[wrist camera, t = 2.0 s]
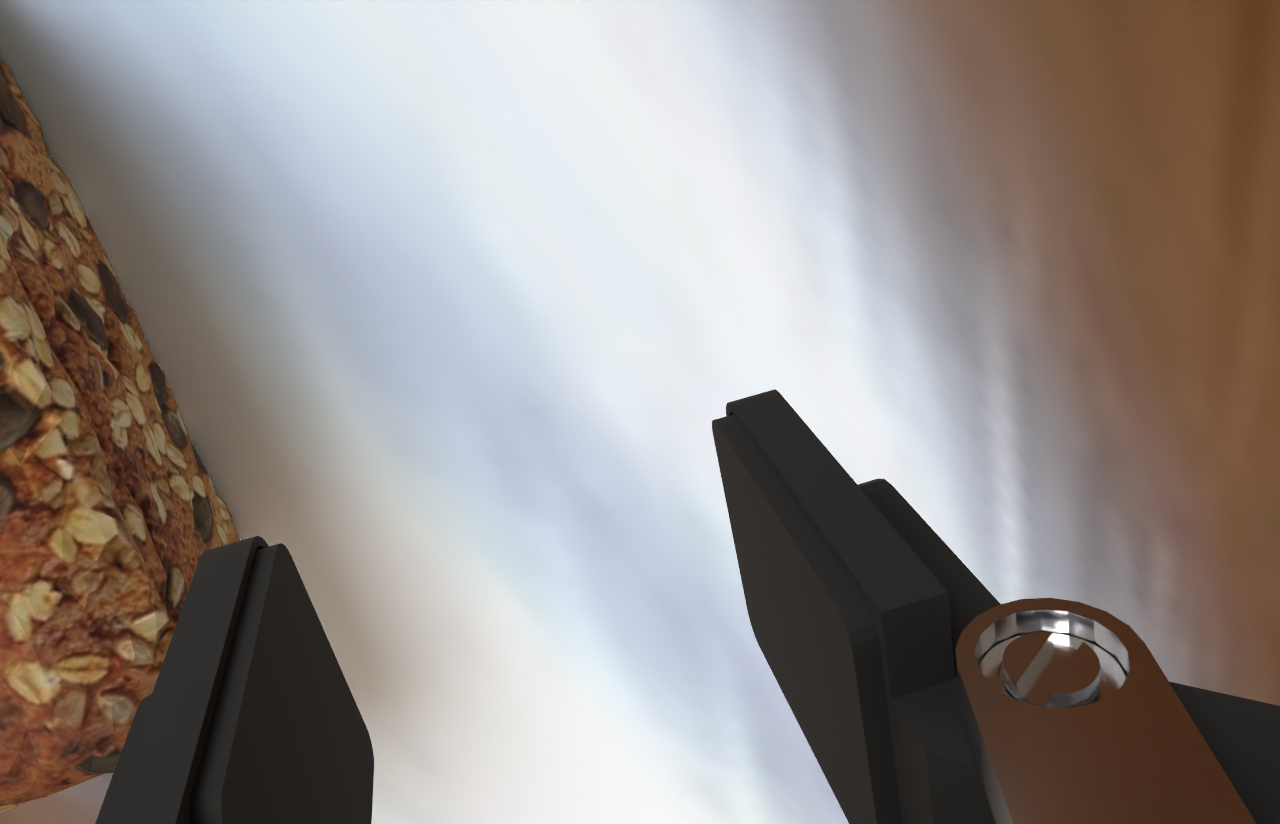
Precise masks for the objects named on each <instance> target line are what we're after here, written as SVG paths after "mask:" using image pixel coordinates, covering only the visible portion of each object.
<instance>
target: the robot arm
mask: <svg viewBox="0 0 1280 824" xmlns="http://www.w3.org/2000/svg"><path fill="white" fill-rule="evenodd" d="M726 415H727V417H723V418H720V419H716V420H713V421H712V430H713V436H714V441H715V446H716V451H717V456H718V462H719V467H720V472H721V477H722V482H723V487H724V492H725V497H726V502H727V508H728V513H729V518H730V523H731V528H732V533H733V538H734V543H735V548H736V553H737V559H738V564H739V569H740V574H741V579H742V584H743V589H744V594H745V599H746V605H747V610H748V614H749V618H750V622H751V625H752V628H753V631H754V634H755V637H756V639H757V642H758V644H759V646H760V648H761V650H762V652H763V654H764V656H765V658H766V660H767V662H768V664H769V666H770V668H771V670H772V672H773V674H774V676H775V678H776V680H777V682H778V684H779V686H780V688H781V690H782V692H783V694H784V696H785V698H786V700H787V702H788V704H789V706H790V708H791V709H792V711H793V713H794V715H795V717H796V719H797V721H798V723H799V725H800V727H801V729H802V731H803V733H804V735H805V737H806V739H807V741H808V743H809V745H810V747H811V749H812V751H813V753H814V755H815V757H816V759H817V761H818V763H819V765H820V767H821V769H822V771H823V773H824V775H825V777H826V779H827V781H828V783H829V785H830V787H831V788H832V790H833V792H834V794H835V796H836V798H837V800H838V802H839V804H840V806H841V808H842V810H843V812H844V814H845V816H846V818H847V820H848V822H849V824H1280V706H1277V705H1272V704H1268V703H1263V702H1259V701H1254V700H1250V699H1245V698H1240V697H1236V696H1231V695H1227V694H1222V693H1218V692H1213V691H1209V690H1204V689H1200V688H1195V687H1191V686H1186V685H1181V684H1177V683H1172V682H1169V681H1168V680H1167V678H1166V677H1165V675H1164V673H1163V672H1162V670H1161V669H1160V667H1159V665H1158V664H1157V662H1156V661H1155V659H1154V657H1153V656H1152V654H1151V652H1150V651H1149V649H1148V648H1147V646H1146V644H1145V643H1144V642H1143V641H1142V640H1141V639H1140V637H1139V636H1138V635H1137V634H1136V633H1135V632H1134V631H1133V630H1132V629H1131V627H1130V626H1128V625H1127V624H1125V623H1124V622H1122V621H1120V620H1119V619H1117V618H1116V617H1114V616H1112V615H1111V614H1109V613H1108V612H1106V611H1103V610H1100V609H1097V608H1094V607H1092V606H1089V605H1086V604H1083V603H1080V602H1074V601H1068V600H1061V599H1054V598H1038V599H1021V600H1017V601H1013V602H1009V603H1005V604H1000V603H999V602H998V601H997V600H996V599H995V598H994V596H993V595H992V594H991V593H990V592H989V591H988V590H987V589H986V588H985V587H984V586H983V584H982V583H981V582H980V581H979V580H978V579H977V578H976V577H975V576H974V575H973V573H972V572H971V571H970V570H969V569H968V568H967V567H966V566H965V565H964V564H963V563H962V561H961V560H960V559H959V558H958V557H957V556H956V555H955V554H954V553H953V552H952V550H951V549H950V548H949V547H948V546H947V545H946V544H945V543H944V542H943V541H942V540H941V538H940V537H939V536H938V535H937V534H936V533H935V532H934V531H933V530H932V529H931V527H930V526H929V525H928V524H927V523H926V522H925V521H924V520H923V519H922V518H921V516H920V515H919V514H918V513H917V512H916V511H915V510H914V509H913V508H912V507H911V506H910V504H909V503H908V502H907V501H906V500H905V499H904V498H903V497H902V496H901V495H900V493H899V492H898V491H897V490H896V489H895V488H894V487H893V486H892V485H891V484H890V483H889V482H887V481H886V480H885V479H875V480H872V481H869V482H865V483H862V484H859V485H857V484H856V483H855V482H854V480H853V479H852V478H851V477H850V476H849V474H848V473H847V472H846V471H845V470H844V469H843V467H842V466H841V465H840V464H839V463H838V461H837V460H836V459H835V458H834V457H833V456H832V454H831V453H830V452H829V451H828V450H827V448H826V447H825V446H824V445H823V444H822V443H821V441H820V440H819V439H818V438H817V437H816V436H815V434H814V433H813V432H812V431H811V430H810V428H809V427H808V426H807V425H806V424H805V423H804V421H803V420H802V419H801V418H800V417H799V415H798V414H797V413H796V412H795V411H794V410H793V408H792V407H791V406H790V405H789V404H788V402H787V401H786V400H785V399H784V398H783V397H782V395H781V394H780V393H779V392H778V391H777V390H771V391H768V392H764V393H761V394H757V395H754V396H750V397H747V398H743V399H740V400H736V401H733V402H729V403H727V405H726ZM373 775H374V756H373V749H372V744H371V740H370V736H369V733H368V730H367V728H366V725H365V723H364V721H363V719H362V716H361V714H360V712H359V709H358V707H357V705H356V703H355V700H354V698H353V696H352V693H351V691H350V689H349V687H348V684H347V682H346V680H345V678H344V675H343V673H342V671H341V668H340V666H339V664H338V662H337V659H336V657H335V655H334V653H333V650H332V648H331V646H330V643H329V641H328V639H327V637H326V634H325V632H324V630H323V627H322V625H321V623H320V621H319V618H318V616H317V614H316V612H315V609H314V607H313V605H312V602H311V600H310V598H309V596H308V593H307V591H306V589H305V586H304V584H303V582H302V580H301V577H300V575H299V573H298V571H297V568H296V566H295V564H294V561H293V559H292V557H291V555H290V553H289V551H288V549H287V548H286V547H285V545H283V544H282V543H280V544H277V545H273V546H270V547H269V546H268V544H267V543H266V542H265V541H264V539H263V538H261V537H259V536H256V537H253V538H249V539H246V540H242V541H238V542H235V543H231V544H228V545H224V546H221V547H217V548H214V549H210V550H207V551H204V552H203V553H202V555H201V556H200V559H199V562H198V565H197V568H196V570H195V573H194V576H193V579H192V582H191V585H190V587H189V590H188V593H187V596H186V599H185V602H184V605H183V607H182V610H181V613H180V616H179V619H178V622H177V624H176V627H175V630H174V633H173V636H172V639H171V641H170V644H169V647H168V650H167V653H166V656H165V658H164V661H163V664H162V667H161V670H160V673H159V675H158V678H157V681H156V684H155V687H154V690H153V692H152V693H151V694H150V695H148V696H147V697H145V698H143V700H142V702H141V703H140V705H139V707H138V709H137V711H136V714H135V716H134V719H133V722H132V725H131V727H130V730H129V733H128V736H127V738H126V741H125V744H124V747H123V749H122V752H121V755H120V758H119V760H118V763H117V766H116V769H115V771H114V774H113V777H112V780H111V782H110V785H109V788H108V790H107V793H106V796H105V799H104V801H103V804H102V807H101V810H100V812H99V815H98V818H97V821H96V823H95V824H371V818H372V797H373Z"/></svg>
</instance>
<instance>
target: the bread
mask: <svg viewBox="0 0 1280 824" xmlns="http://www.w3.org/2000/svg"><path fill="white" fill-rule="evenodd" d="M238 541H239V538H238V535H237V532H236V529H235V526H234V522H233V519H232V517H231V514H230V512H229V510H228V509H227V507H226V506H225V504H224V503H223V501H222V500H221V499H220V498H219V496H218V495H217V494H216V492H215V491H214V488H213V484H212V481H211V479H210V477H209V475H208V473H207V471H206V469H205V467H204V465H203V463H202V461H201V460H200V458H199V456H198V454H197V452H196V450H195V449H194V447H193V445H192V443H191V441H190V439H189V437H188V434H187V431H186V429H185V426H184V423H183V421H182V418H181V415H180V412H179V410H178V407H177V405H176V403H175V400H174V398H173V396H172V394H171V392H170V390H169V388H168V387H167V386H166V385H165V375H164V373H163V371H162V370H161V369H160V368H159V366H158V365H157V364H156V363H155V361H154V360H153V359H152V356H151V353H150V350H149V347H148V344H147V342H146V340H145V338H144V336H143V334H142V331H141V328H140V326H139V323H138V320H137V318H136V315H135V312H134V310H133V309H131V308H130V307H129V306H128V305H127V304H126V302H125V299H124V297H123V294H122V291H121V288H120V286H119V283H118V280H117V278H116V275H115V273H114V271H113V269H112V267H111V265H110V263H109V261H108V259H107V257H106V255H105V253H104V251H103V249H102V247H101V245H100V243H99V240H98V238H97V236H96V234H95V232H94V230H93V228H92V226H91V224H90V222H89V220H88V218H87V216H86V214H85V212H84V210H83V208H82V206H81V204H80V202H79V200H78V198H77V196H76V194H75V192H74V190H73V188H72V186H71V183H70V181H69V179H68V177H67V176H66V175H65V174H64V173H63V172H62V170H61V169H60V168H59V167H58V166H57V165H56V164H55V163H54V162H53V160H52V159H51V157H50V155H49V152H48V150H47V147H46V145H45V142H44V140H43V136H42V131H41V127H40V122H39V121H38V120H37V118H36V117H35V116H34V114H33V113H32V112H31V110H30V109H29V108H28V106H27V104H26V102H25V100H24V97H23V95H22V93H21V91H20V89H19V87H18V85H17V83H16V81H15V79H14V77H13V75H12V73H11V71H10V69H9V68H8V67H7V66H6V65H5V64H4V63H3V62H2V61H1V60H0V812H3V811H6V810H9V809H12V808H15V807H18V804H20V803H23V802H26V801H30V800H34V799H38V798H41V797H46V796H49V795H51V794H54V793H56V792H59V791H61V790H64V789H66V788H69V787H71V786H74V785H77V784H79V783H82V782H84V781H87V780H89V779H92V778H94V777H97V776H99V775H102V774H104V773H113V772H114V771H115V769H116V766H117V763H118V760H119V758H120V755H121V752H122V749H123V747H124V744H125V741H126V738H127V736H128V733H129V730H130V727H131V725H132V722H133V719H134V716H135V714H136V711H137V709H138V707H139V705H140V703H141V702H142V700H143V698H145V697H147V696H148V695H150V694H151V693H152V692H153V690H154V687H155V684H156V681H157V678H158V675H159V673H160V670H161V667H162V664H163V661H164V658H165V656H166V653H167V650H168V647H169V644H170V641H171V639H172V636H173V633H174V630H175V627H176V624H177V622H178V619H179V616H180V613H181V610H182V607H183V605H184V602H185V599H186V596H187V593H188V590H189V587H190V585H191V582H192V579H193V576H194V573H195V570H196V568H197V565H198V562H199V559H200V556H201V555H202V553H203V552H204V551H207V550H210V549H214V548H217V547H221V546H224V545H228V544H231V543H235V542H238Z"/></svg>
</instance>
